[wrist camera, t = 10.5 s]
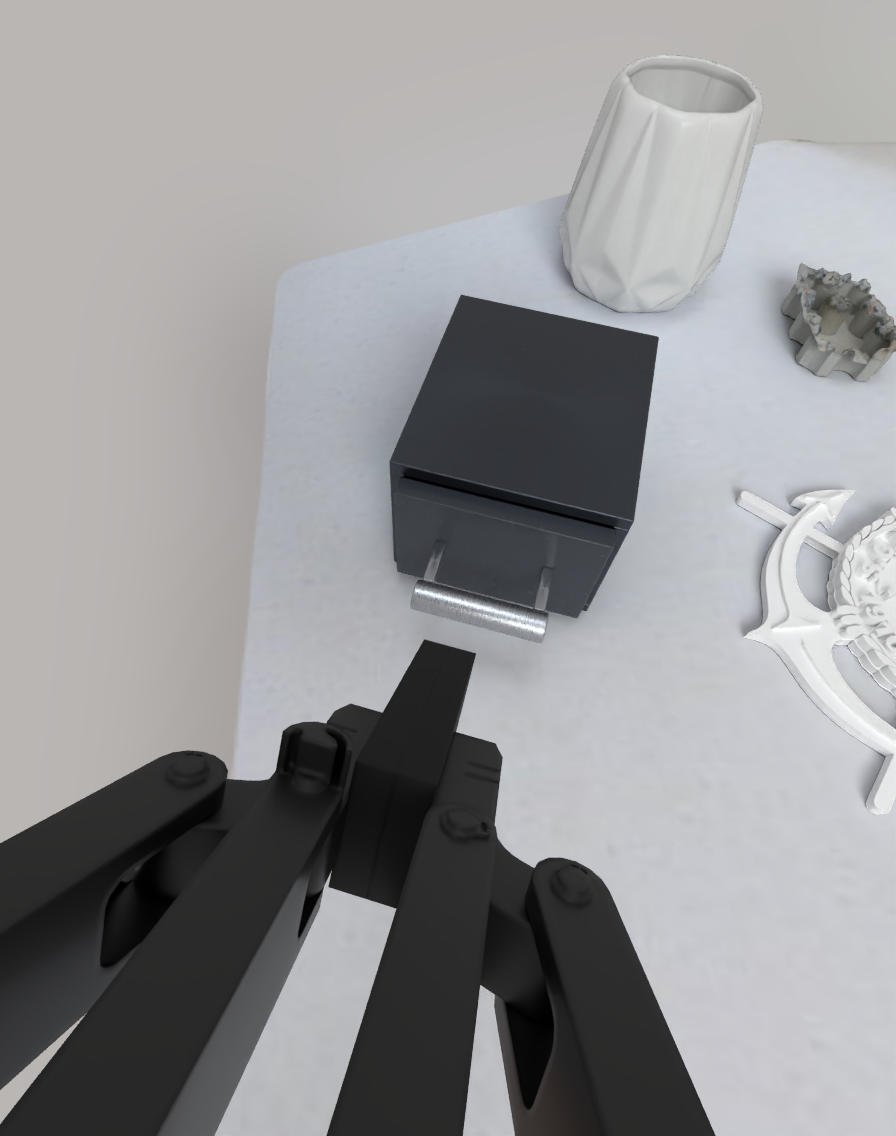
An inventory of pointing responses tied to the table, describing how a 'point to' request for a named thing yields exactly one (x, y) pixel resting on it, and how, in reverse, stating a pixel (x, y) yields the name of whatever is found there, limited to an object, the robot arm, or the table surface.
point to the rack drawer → (495, 557)
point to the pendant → (835, 617)
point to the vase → (660, 182)
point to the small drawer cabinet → (534, 414)
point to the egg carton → (838, 324)
